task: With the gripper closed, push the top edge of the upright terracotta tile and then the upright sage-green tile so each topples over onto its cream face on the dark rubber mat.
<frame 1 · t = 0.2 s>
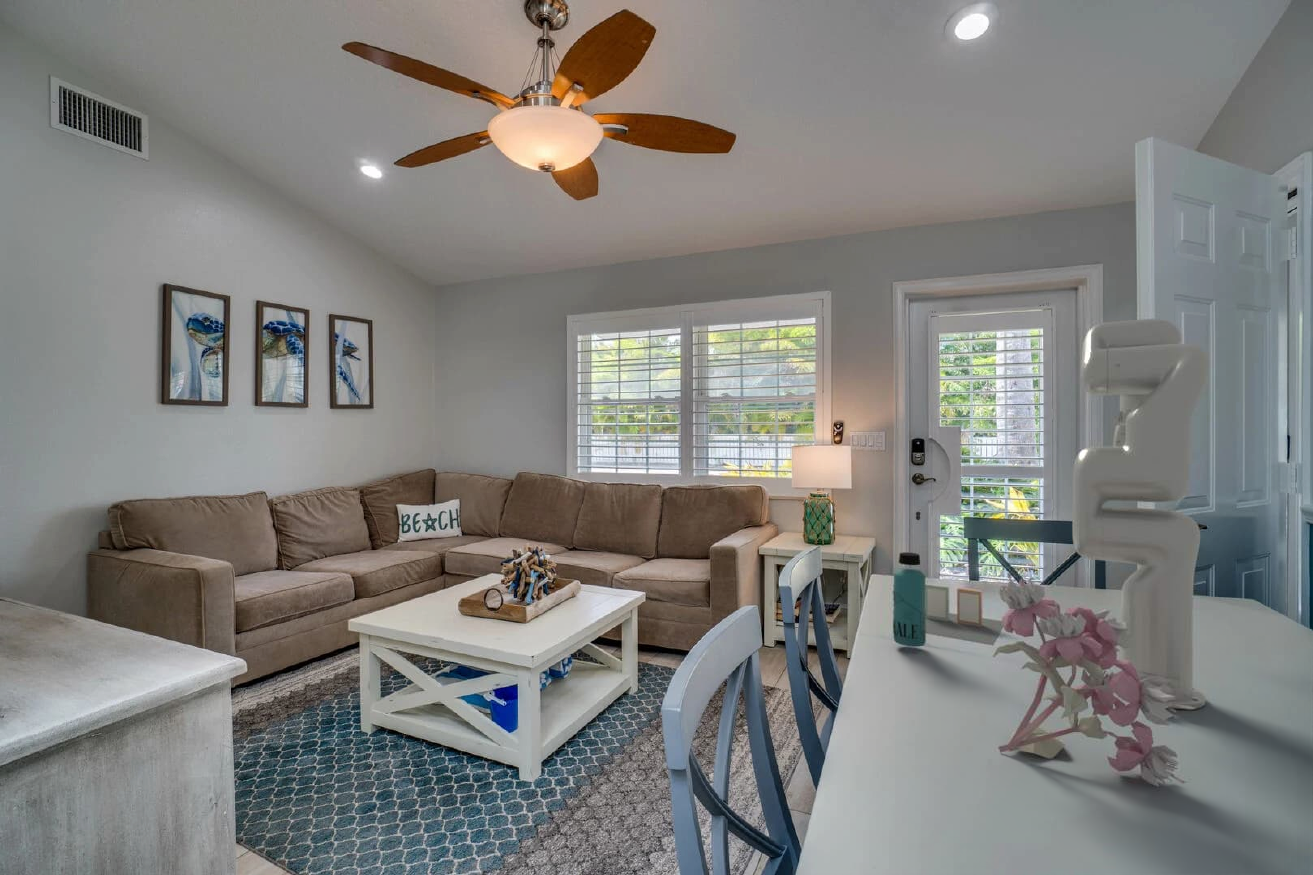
hand: (1140, 493, 142), 31 cm above the table, tool pointing down, fingers open, 9 cm apart
tile b: (937, 618, 148), point 1 cm above the table, touching mat
tile a: (969, 624, 144), point 1 cm above the table, touching mat
mat: (950, 627, 143), on the table
beverage bottle: (909, 649, 129), on the table
flower: (1096, 767, 83), on the table
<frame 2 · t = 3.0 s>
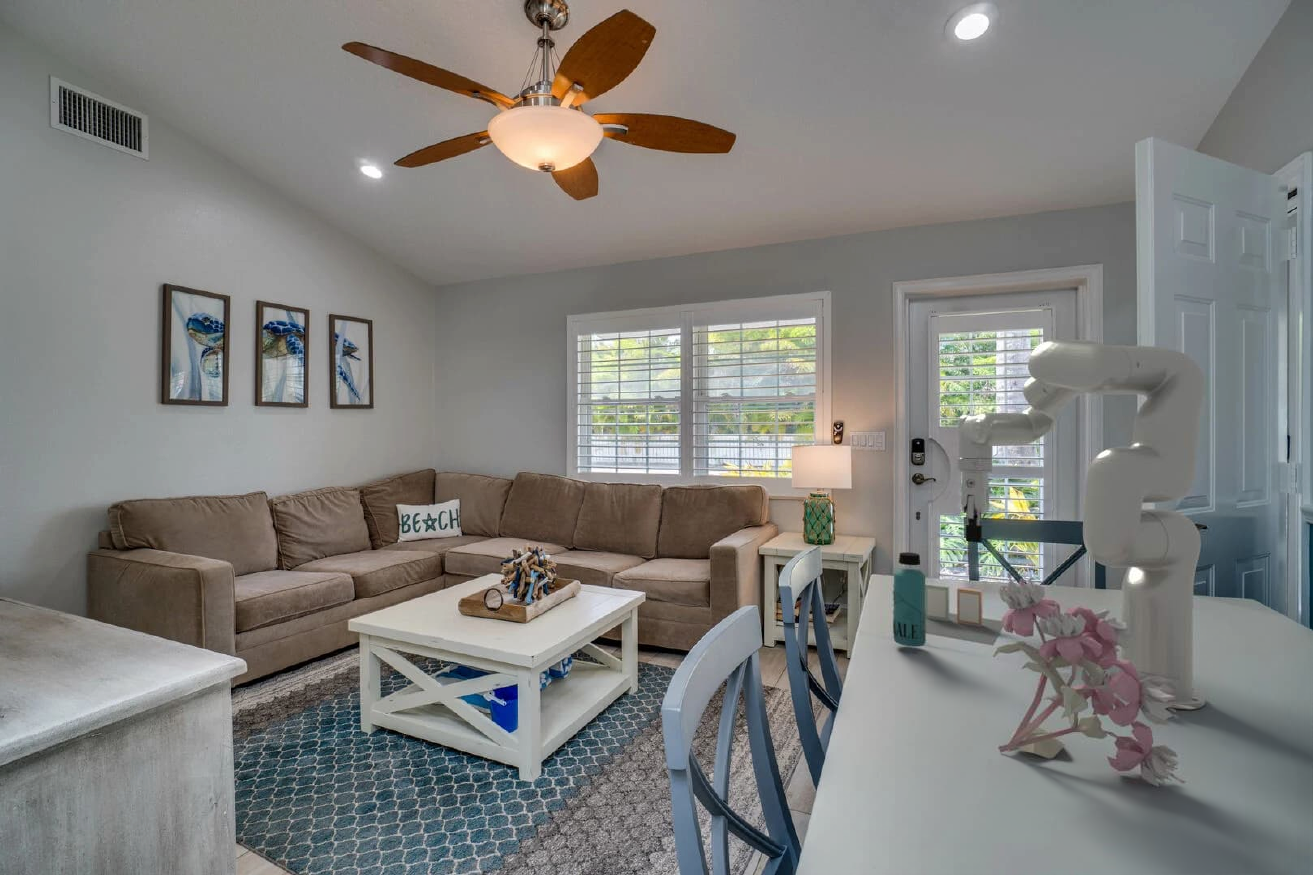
hand: (973, 541, 150), 19 cm above the table, tool pointing down, fingers closed
nothing on the table moved.
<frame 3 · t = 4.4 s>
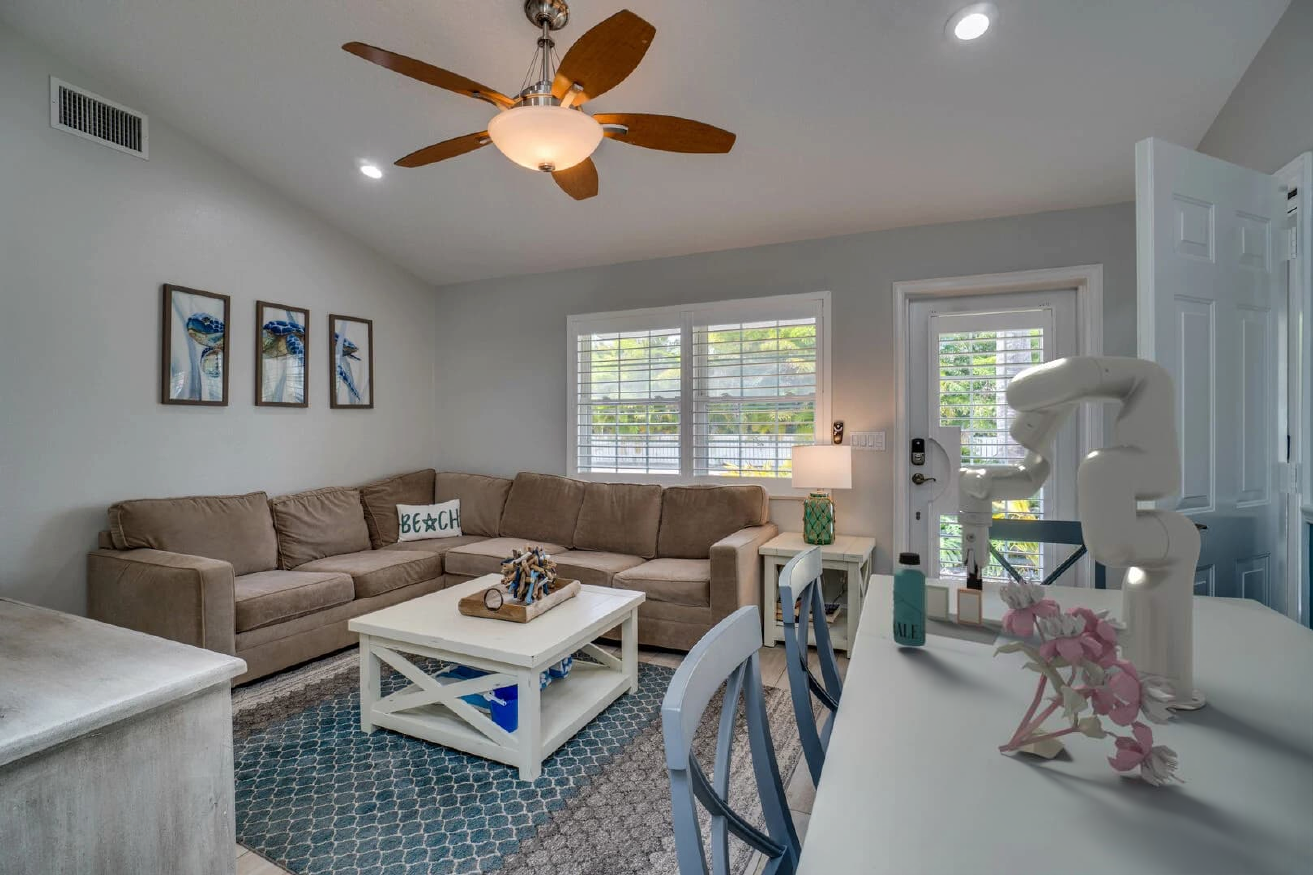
hand: (974, 594, 149), 6 cm above the table, tool pointing down, fingers closed
nothing on the table moved.
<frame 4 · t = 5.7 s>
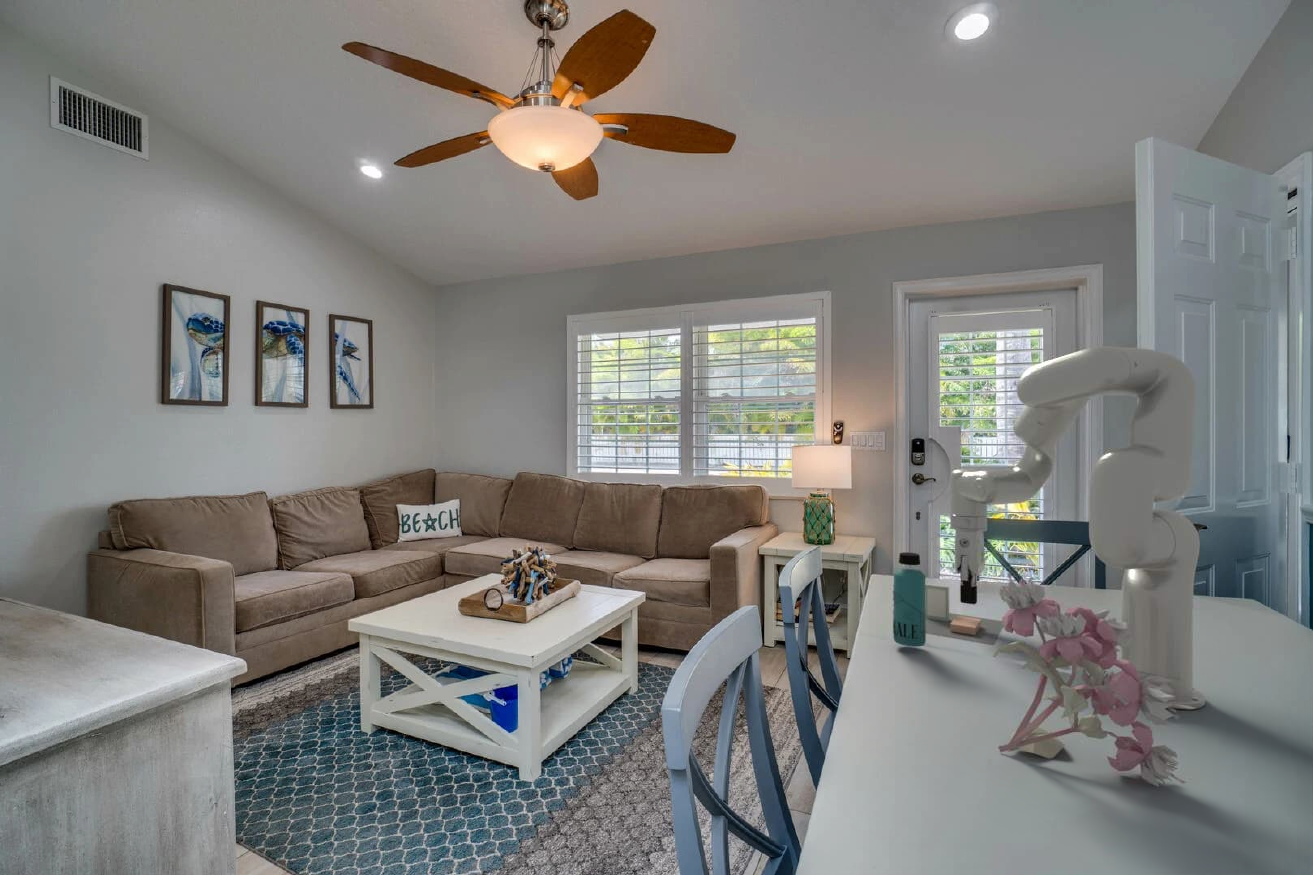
hand: (968, 602, 142), 6 cm above the table, tool pointing down, fingers closed
tile a: (969, 620, 143), point 2 cm above the table, tilted 90°, touching mat
everything else where it was.
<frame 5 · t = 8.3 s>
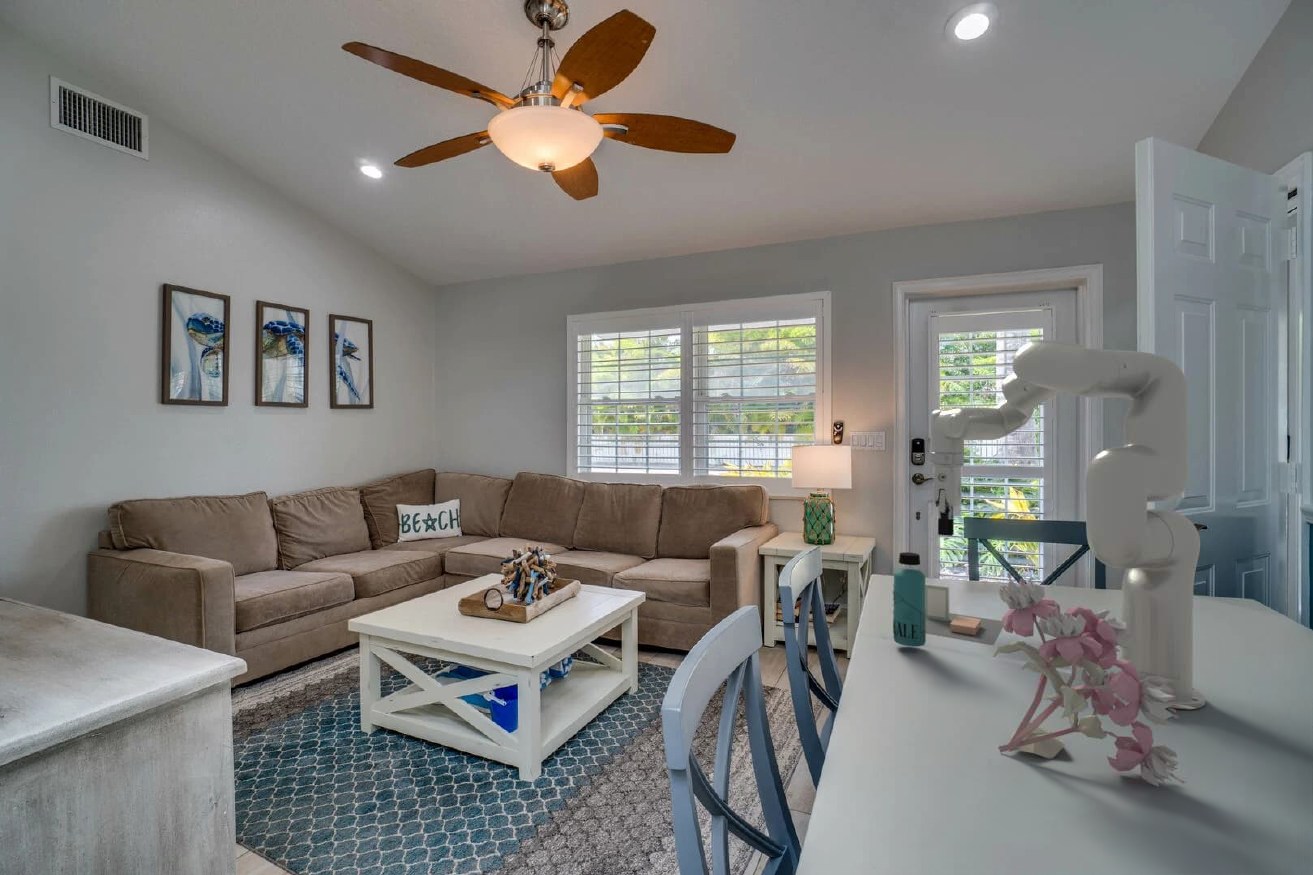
hand: (945, 534, 151), 20 cm above the table, tool pointing down, fingers closed
nothing on the table moved.
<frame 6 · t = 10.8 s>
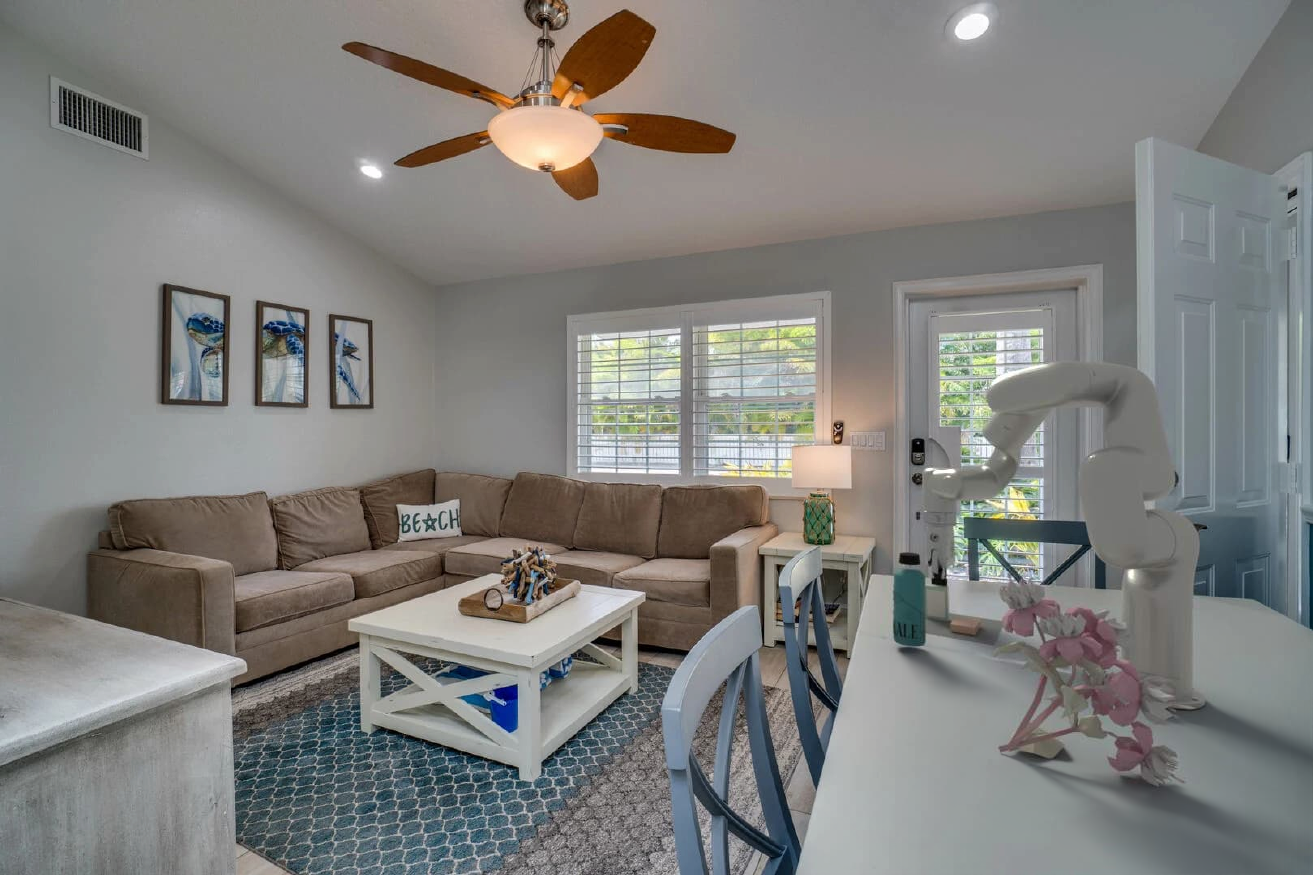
hand: (939, 594, 149), 6 cm above the table, tool pointing down, fingers closed
tile b: (937, 618, 148), point 1 cm above the table, tilted 6°, touching mat
everything else where it was.
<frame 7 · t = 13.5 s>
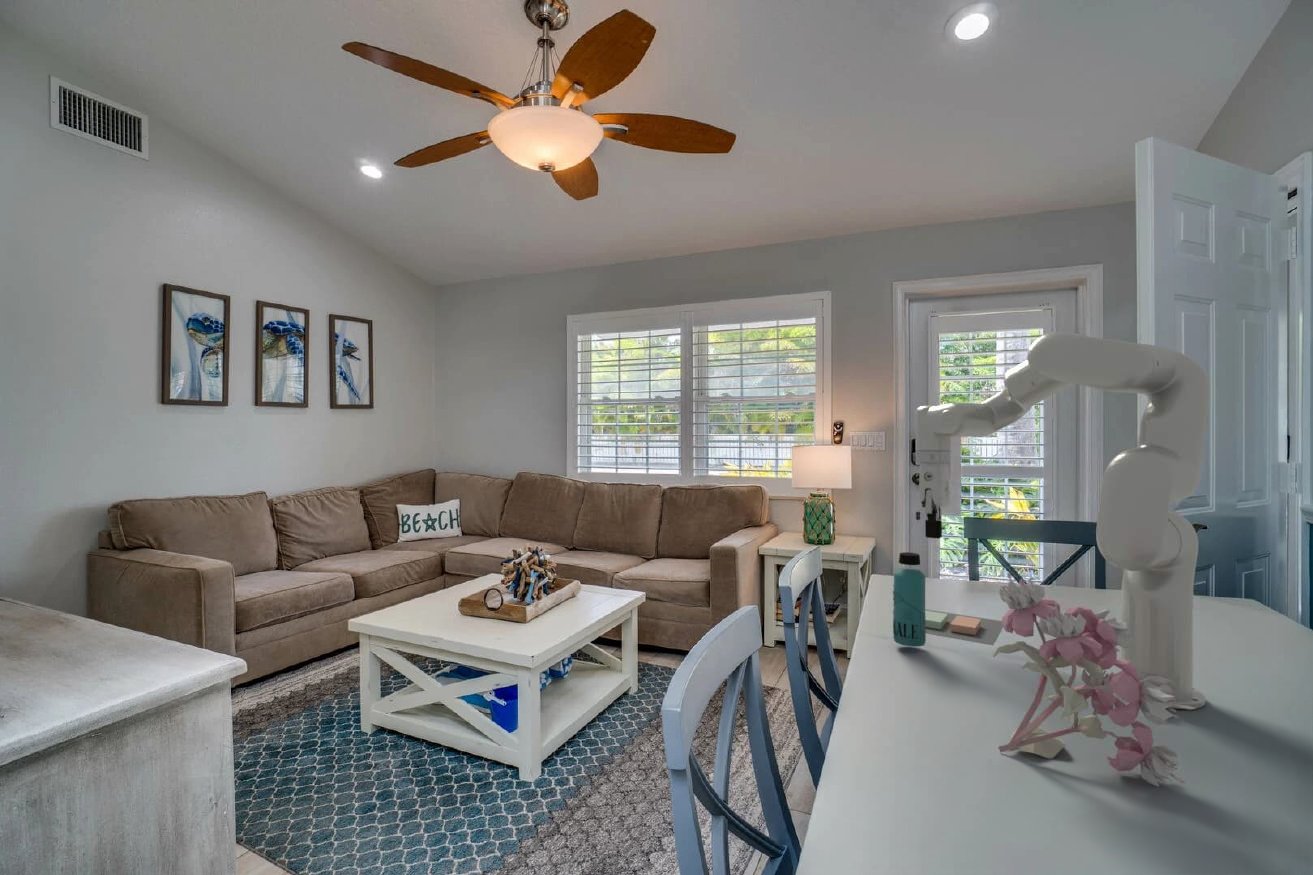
hand: (933, 537, 144), 21 cm above the table, tool pointing down, fingers closed
tile b: (936, 615, 147), point 2 cm above the table, tilted 90°, touching mat
everything else where it was.
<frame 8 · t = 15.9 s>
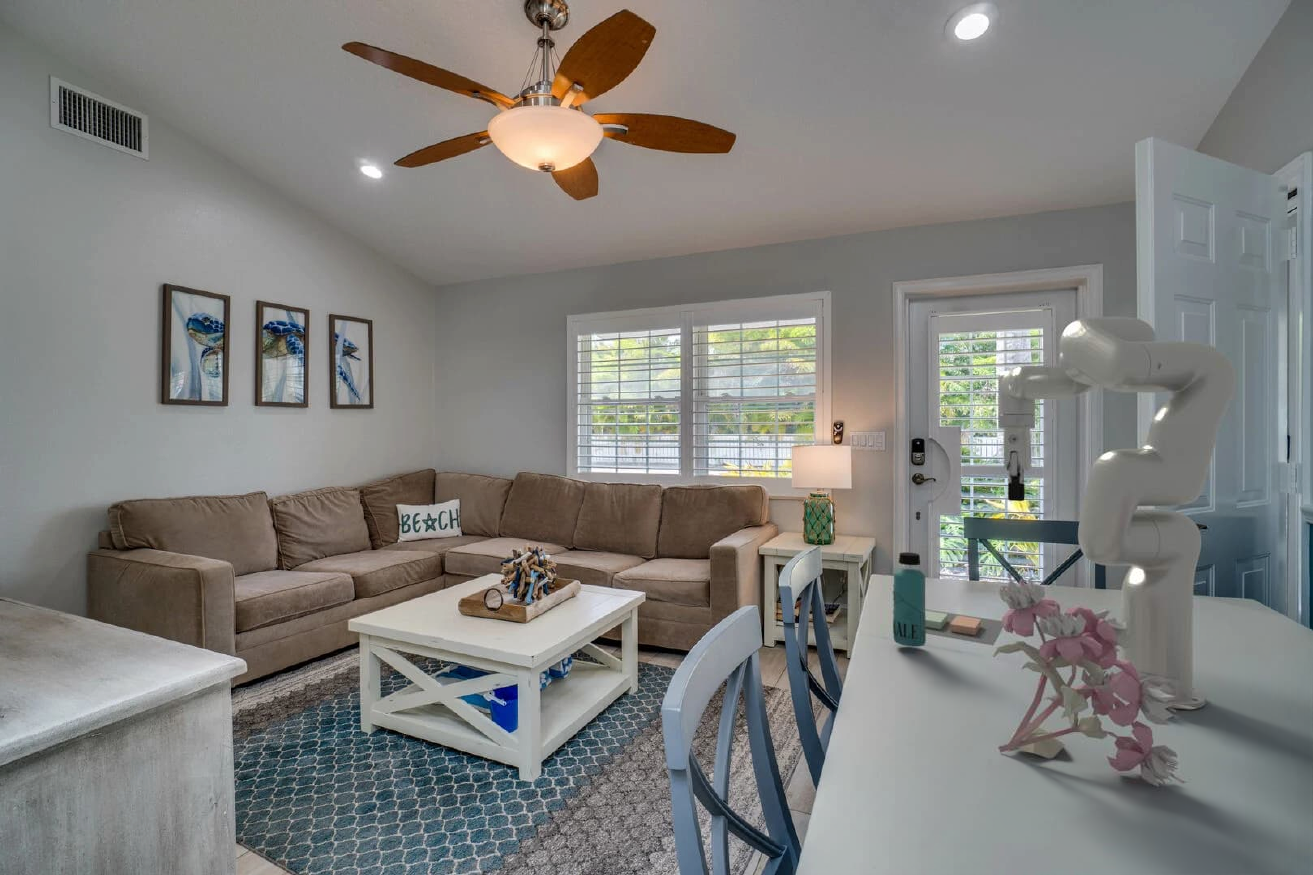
hand: (1016, 500, 146), 29 cm above the table, tool pointing down, fingers closed
nothing on the table moved.
at the end: tile a tilted 90°; tile b tilted 90°; tile b inside the target area (4.1 cm from its centre), point 1.6 cm above the table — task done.
